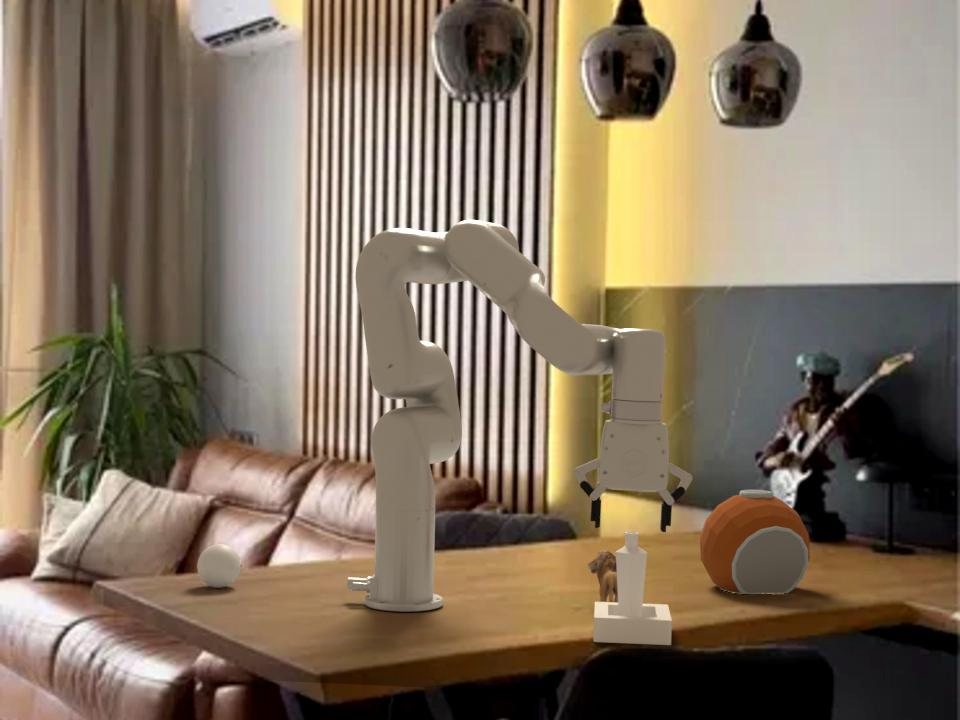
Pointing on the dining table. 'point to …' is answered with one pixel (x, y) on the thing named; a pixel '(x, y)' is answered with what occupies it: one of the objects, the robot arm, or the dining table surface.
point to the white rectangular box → (632, 625)
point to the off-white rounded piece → (219, 565)
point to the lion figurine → (605, 575)
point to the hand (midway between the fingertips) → (630, 528)
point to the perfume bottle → (630, 576)
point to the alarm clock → (755, 544)
